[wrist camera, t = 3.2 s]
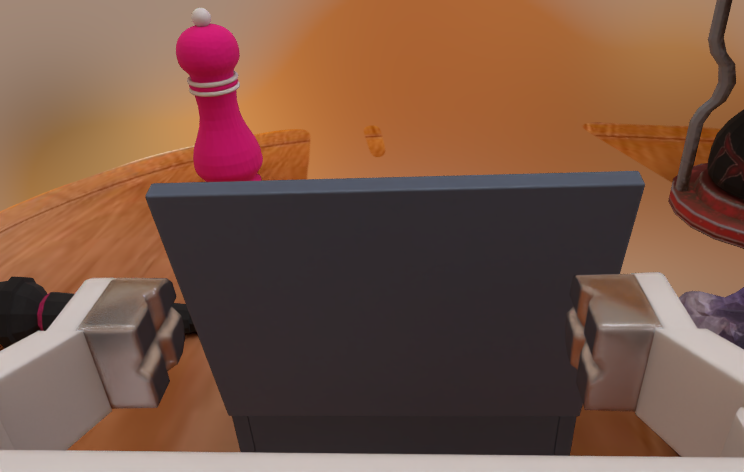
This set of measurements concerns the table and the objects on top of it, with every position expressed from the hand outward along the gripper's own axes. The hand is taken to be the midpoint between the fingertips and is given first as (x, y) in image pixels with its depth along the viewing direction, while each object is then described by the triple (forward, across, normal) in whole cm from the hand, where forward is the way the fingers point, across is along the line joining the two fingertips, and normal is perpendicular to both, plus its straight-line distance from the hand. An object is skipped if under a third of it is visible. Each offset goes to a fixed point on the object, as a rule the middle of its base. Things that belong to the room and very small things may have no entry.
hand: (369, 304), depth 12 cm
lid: (+11, 0, +9) cm, 14 cm away
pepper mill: (+51, +19, +24) cm, 60 cm away
